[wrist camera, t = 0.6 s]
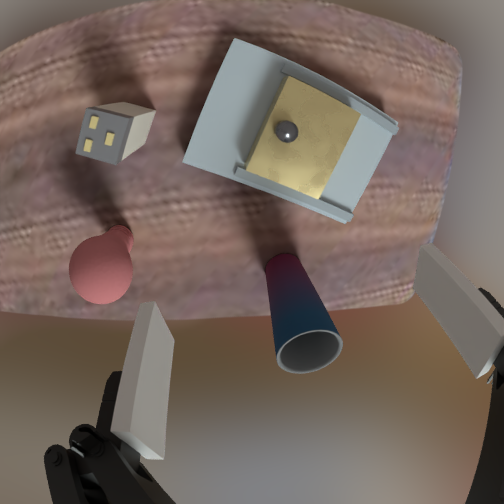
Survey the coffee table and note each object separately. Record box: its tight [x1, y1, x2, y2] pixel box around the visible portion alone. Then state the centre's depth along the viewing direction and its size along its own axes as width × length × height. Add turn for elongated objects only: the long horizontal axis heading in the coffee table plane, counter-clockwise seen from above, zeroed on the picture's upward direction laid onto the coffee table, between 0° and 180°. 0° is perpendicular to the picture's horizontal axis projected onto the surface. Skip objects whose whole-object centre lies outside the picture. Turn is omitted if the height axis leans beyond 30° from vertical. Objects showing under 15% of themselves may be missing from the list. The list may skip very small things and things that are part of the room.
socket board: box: [182, 38, 399, 224], centre depth 29 cm, size 20×14×4 cm
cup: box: [265, 254, 343, 373], centre depth 34 cm, size 7×7×15 cm
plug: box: [75, 102, 156, 165], centre depth 24 cm, size 4×4×10 cm
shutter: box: [244, 76, 361, 199], centre depth 26 cm, size 8×10×4 cm
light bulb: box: [69, 225, 133, 304], centre depth 30 cm, size 7×7×12 cm
